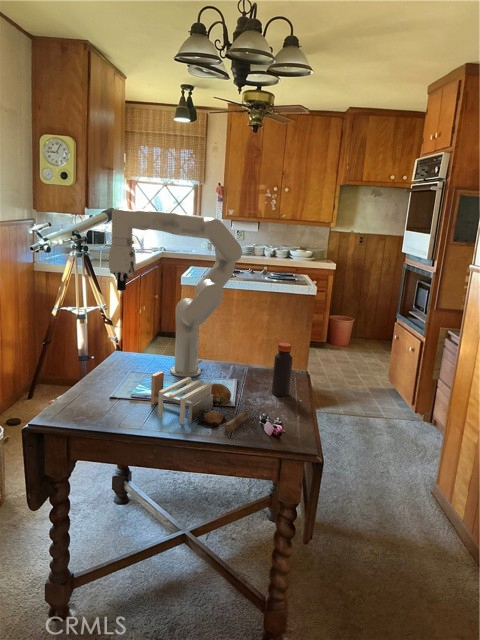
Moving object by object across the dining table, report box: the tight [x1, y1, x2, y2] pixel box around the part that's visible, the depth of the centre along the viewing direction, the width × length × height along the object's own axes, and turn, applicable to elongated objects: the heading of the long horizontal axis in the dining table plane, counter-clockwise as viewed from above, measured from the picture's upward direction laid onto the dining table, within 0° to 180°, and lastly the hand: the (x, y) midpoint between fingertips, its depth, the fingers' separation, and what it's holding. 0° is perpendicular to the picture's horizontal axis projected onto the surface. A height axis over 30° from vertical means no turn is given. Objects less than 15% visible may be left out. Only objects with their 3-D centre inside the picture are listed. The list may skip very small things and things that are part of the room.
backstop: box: [223, 410, 248, 435], centre depth 155 cm, size 13×1×3 cm, turn 152°
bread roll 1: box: [211, 383, 232, 406], centre depth 175 cm, size 10×10×8 cm
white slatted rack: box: [157, 377, 213, 425], centre depth 162 cm, size 17×10×9 cm, turn 152°
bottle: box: [271, 342, 293, 398], centre depth 183 cm, size 7×7×20 cm
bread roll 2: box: [195, 409, 228, 430], centre depth 157 cm, size 11×8×4 cm
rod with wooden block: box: [150, 370, 214, 424], centre depth 163 cm, size 13×20×11 cm, turn 62°
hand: (121, 290), depth 183 cm, fingers closed
